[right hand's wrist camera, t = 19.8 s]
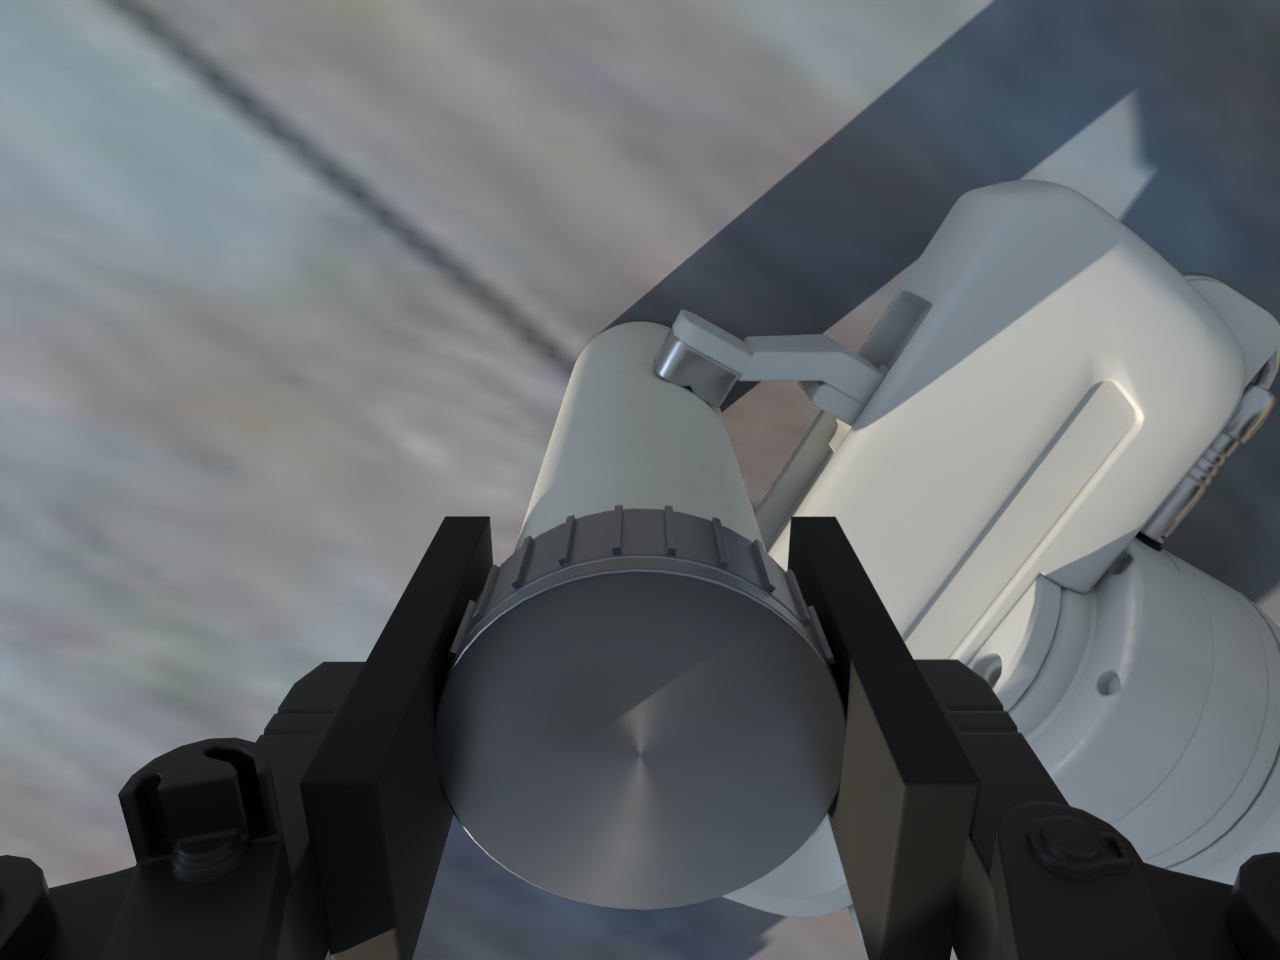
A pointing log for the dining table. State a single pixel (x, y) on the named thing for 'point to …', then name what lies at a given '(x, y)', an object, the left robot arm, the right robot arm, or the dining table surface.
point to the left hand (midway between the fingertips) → (608, 443)
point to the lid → (640, 712)
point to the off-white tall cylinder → (636, 443)
